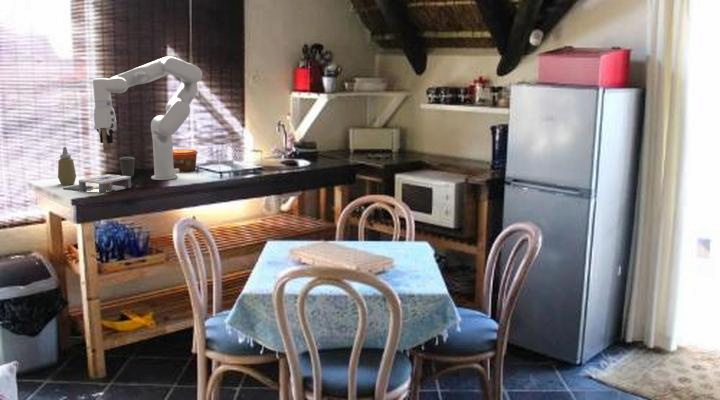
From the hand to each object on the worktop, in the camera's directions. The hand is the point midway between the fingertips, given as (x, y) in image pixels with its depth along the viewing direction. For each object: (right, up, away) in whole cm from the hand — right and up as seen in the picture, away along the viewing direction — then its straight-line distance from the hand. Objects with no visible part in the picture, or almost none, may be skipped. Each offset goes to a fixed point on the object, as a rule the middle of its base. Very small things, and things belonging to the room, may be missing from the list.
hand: (106, 142), depth 337 cm
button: (+4, -21, -13) cm, 25 cm away
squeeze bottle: (-19, -20, 0) cm, 28 cm away
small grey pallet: (+4, -23, -12) cm, 26 cm away
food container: (+26, -12, +44) cm, 52 cm away
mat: (-9, -22, -11) cm, 26 cm away
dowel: (0, -5, +1) cm, 5 cm away
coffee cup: (+2, -16, +24) cm, 29 cm away
